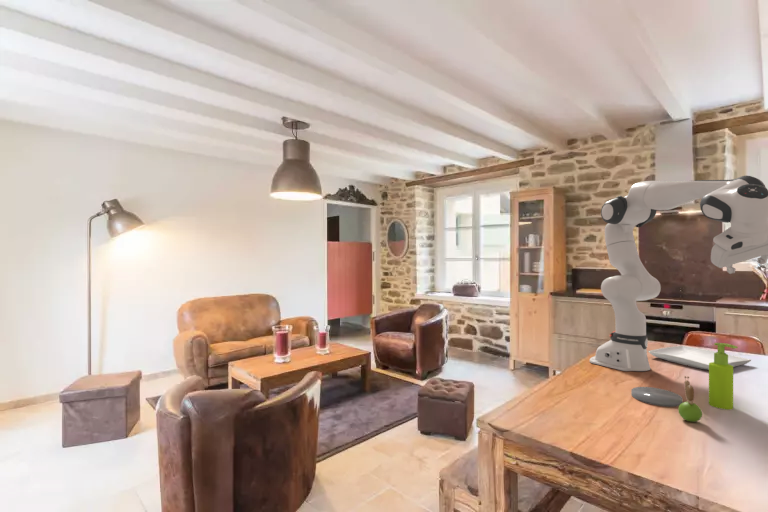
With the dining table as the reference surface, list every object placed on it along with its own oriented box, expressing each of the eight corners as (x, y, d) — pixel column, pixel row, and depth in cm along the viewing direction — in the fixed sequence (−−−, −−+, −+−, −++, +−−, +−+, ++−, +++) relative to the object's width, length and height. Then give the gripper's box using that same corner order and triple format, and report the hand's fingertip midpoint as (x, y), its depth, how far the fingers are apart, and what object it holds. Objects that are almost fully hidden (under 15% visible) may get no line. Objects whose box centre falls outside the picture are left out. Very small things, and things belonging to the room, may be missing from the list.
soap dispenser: (732, 412, 120) (732, 346, 119) (705, 404, 126) (705, 342, 125) (740, 408, 122) (741, 344, 122) (714, 401, 128) (714, 340, 128)
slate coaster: (625, 398, 131) (625, 393, 131) (638, 388, 141) (638, 384, 141) (677, 410, 121) (677, 405, 121) (686, 398, 130) (686, 394, 130)
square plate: (715, 375, 156) (715, 365, 156) (646, 358, 181) (646, 349, 181) (752, 367, 167) (752, 358, 167) (682, 352, 192) (682, 344, 192)
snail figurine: (697, 417, 116) (697, 377, 116) (704, 426, 110) (704, 383, 110) (675, 414, 118) (675, 374, 118) (680, 423, 112) (681, 381, 112)
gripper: (776, 218, 125) (772, 252, 132) (707, 239, 129) (707, 272, 135) (794, 226, 120) (789, 262, 126) (722, 249, 123) (720, 282, 130)
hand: (746, 267), depth 131 cm, fingers open, 8 cm apart
